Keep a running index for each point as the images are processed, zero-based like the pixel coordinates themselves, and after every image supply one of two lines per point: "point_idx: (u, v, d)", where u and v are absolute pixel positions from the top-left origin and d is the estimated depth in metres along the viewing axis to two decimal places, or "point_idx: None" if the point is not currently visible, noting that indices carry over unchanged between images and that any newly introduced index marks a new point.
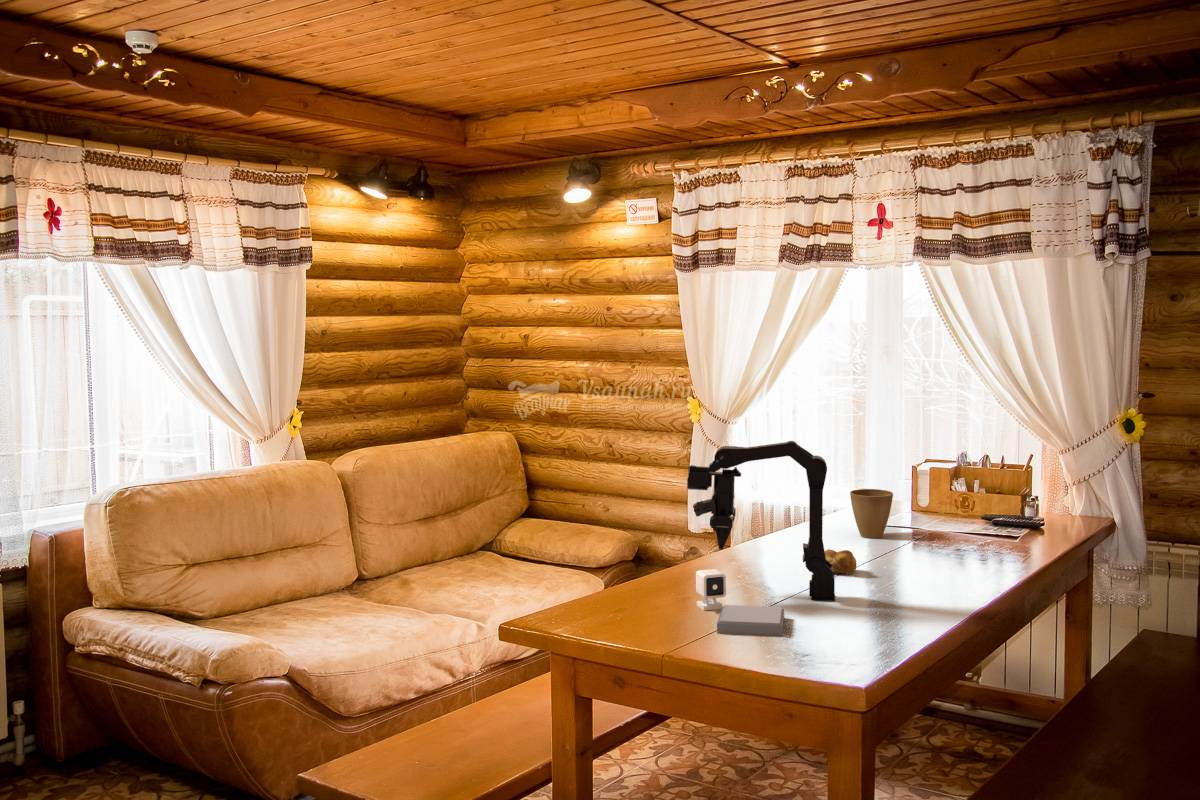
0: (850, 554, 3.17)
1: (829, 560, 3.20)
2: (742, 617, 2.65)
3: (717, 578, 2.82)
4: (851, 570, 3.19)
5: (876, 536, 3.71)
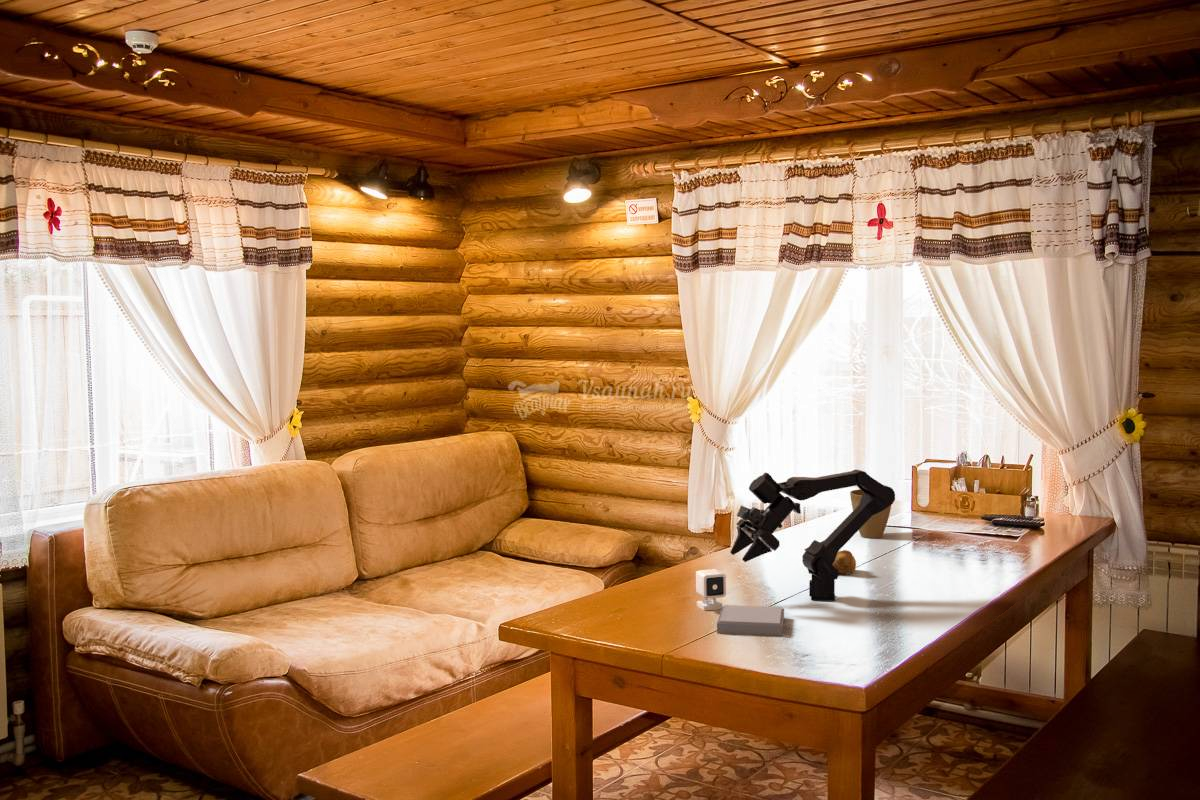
0: (849, 554, 3.17)
1: None
2: (742, 617, 2.65)
3: (717, 578, 2.82)
4: (850, 570, 3.19)
5: (876, 536, 3.71)
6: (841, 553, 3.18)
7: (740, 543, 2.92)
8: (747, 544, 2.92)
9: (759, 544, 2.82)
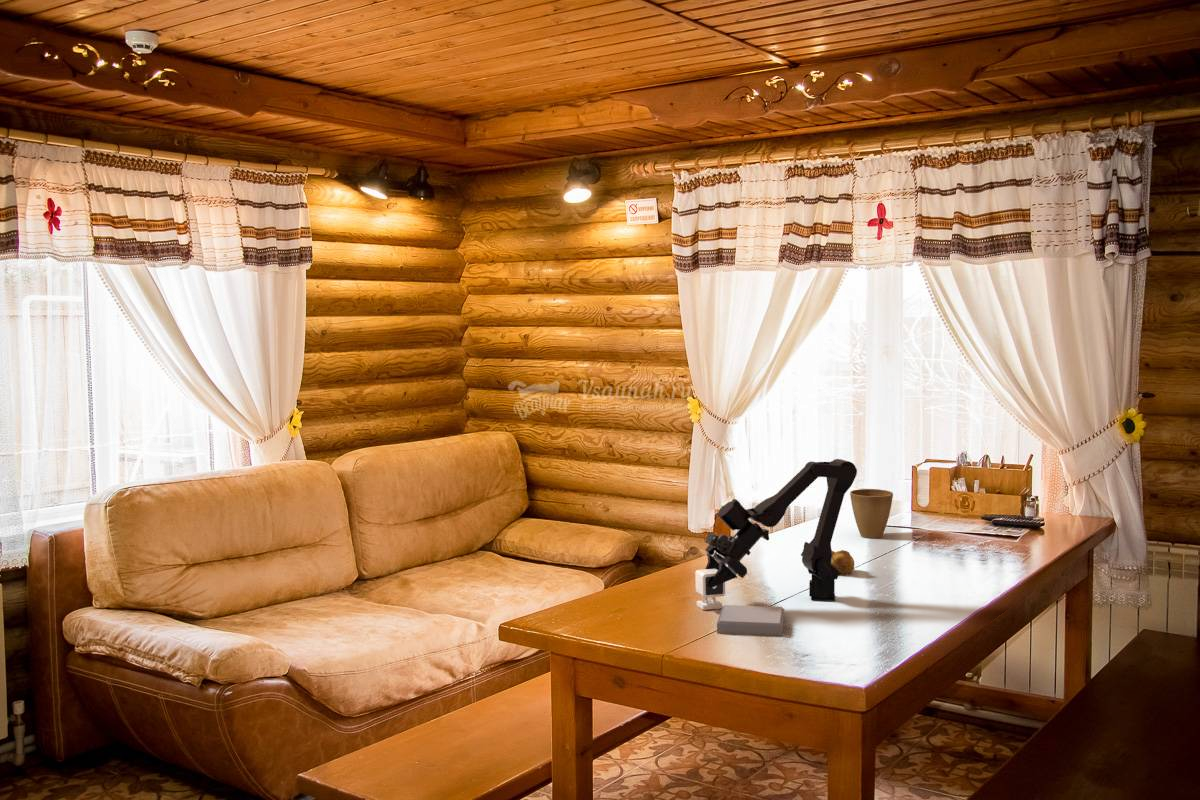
0: (847, 554, 3.17)
1: None
2: (742, 617, 2.65)
3: None
4: (848, 570, 3.19)
5: (876, 536, 3.71)
6: (839, 553, 3.18)
7: None
8: None
9: (725, 570, 2.81)
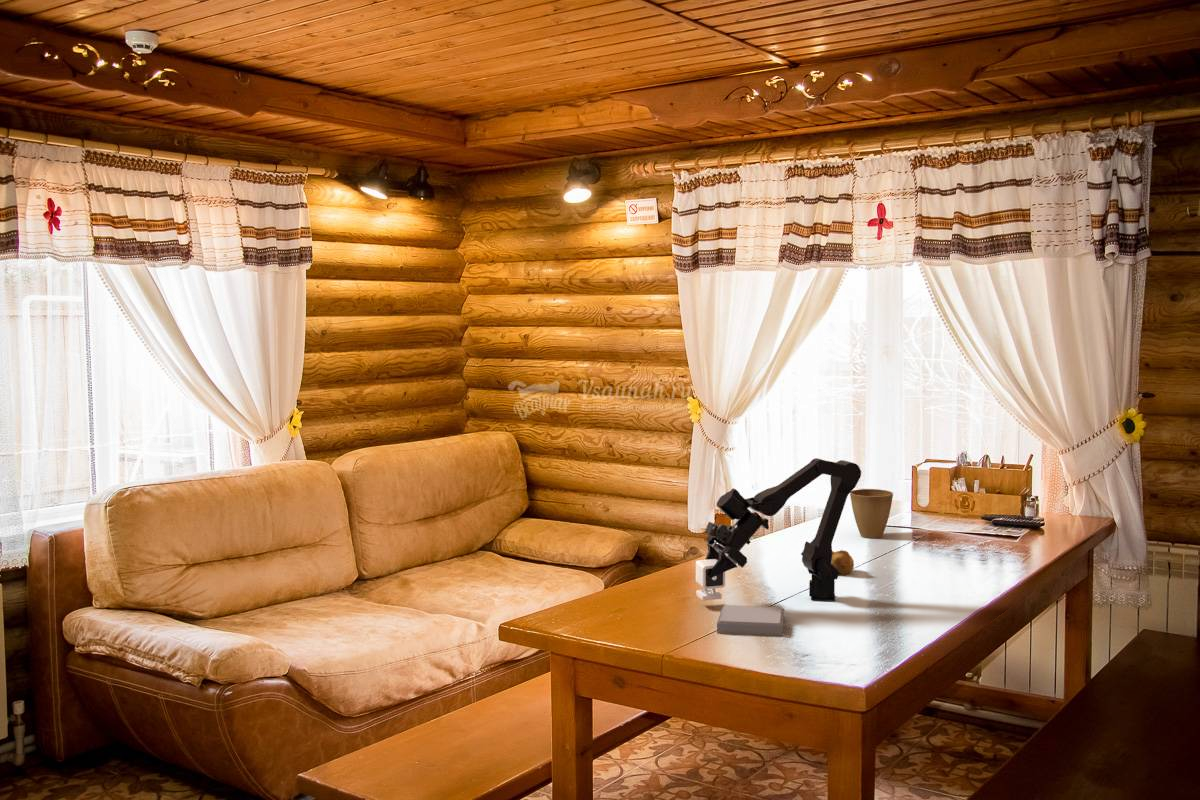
0: (846, 554, 3.17)
1: None
2: (742, 617, 2.65)
3: None
4: (848, 570, 3.19)
5: (876, 536, 3.71)
6: (838, 553, 3.18)
7: None
8: None
9: (725, 560, 2.81)
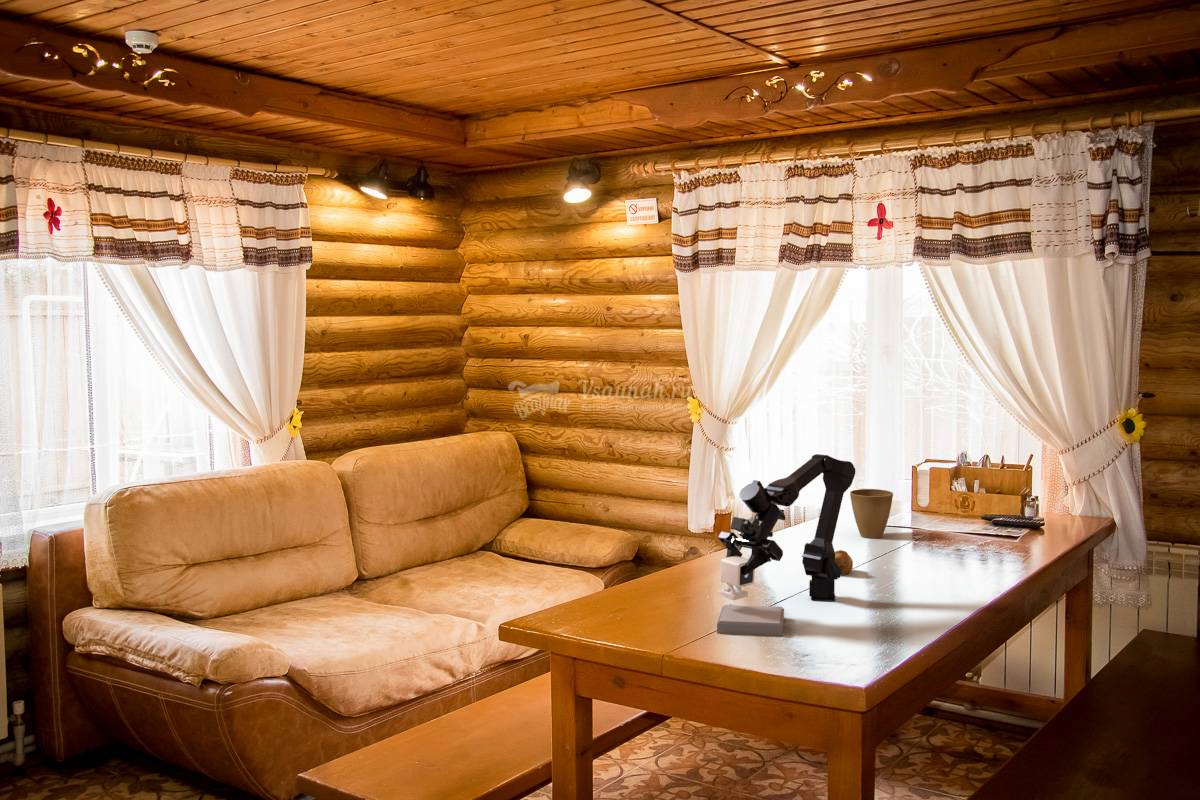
0: (845, 554, 3.17)
1: None
2: (742, 617, 2.65)
3: None
4: (846, 570, 3.19)
5: (876, 536, 3.71)
6: (837, 553, 3.18)
7: None
8: None
9: (757, 555, 2.69)
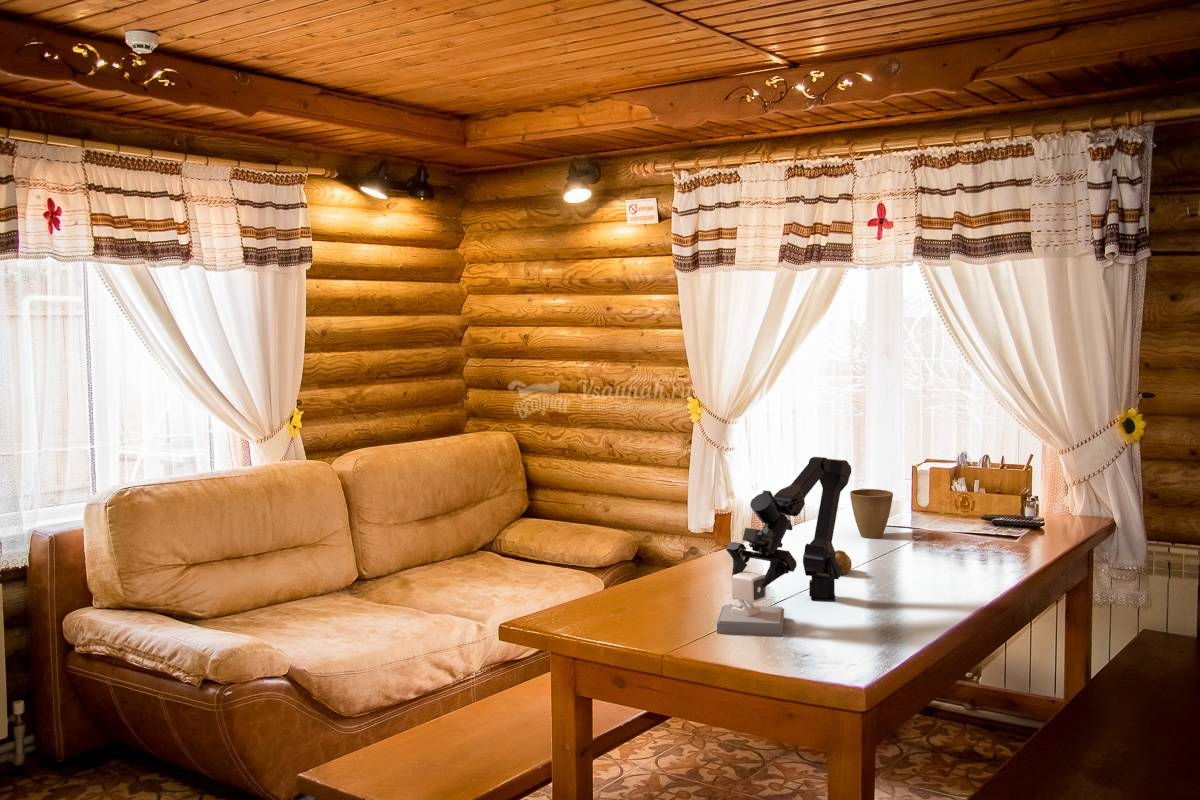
0: (843, 554, 3.17)
1: None
2: (742, 617, 2.65)
3: (760, 580, 2.67)
4: (845, 570, 3.19)
5: (876, 536, 3.71)
6: None
7: (739, 568, 2.72)
8: (743, 568, 2.74)
9: (776, 567, 2.66)
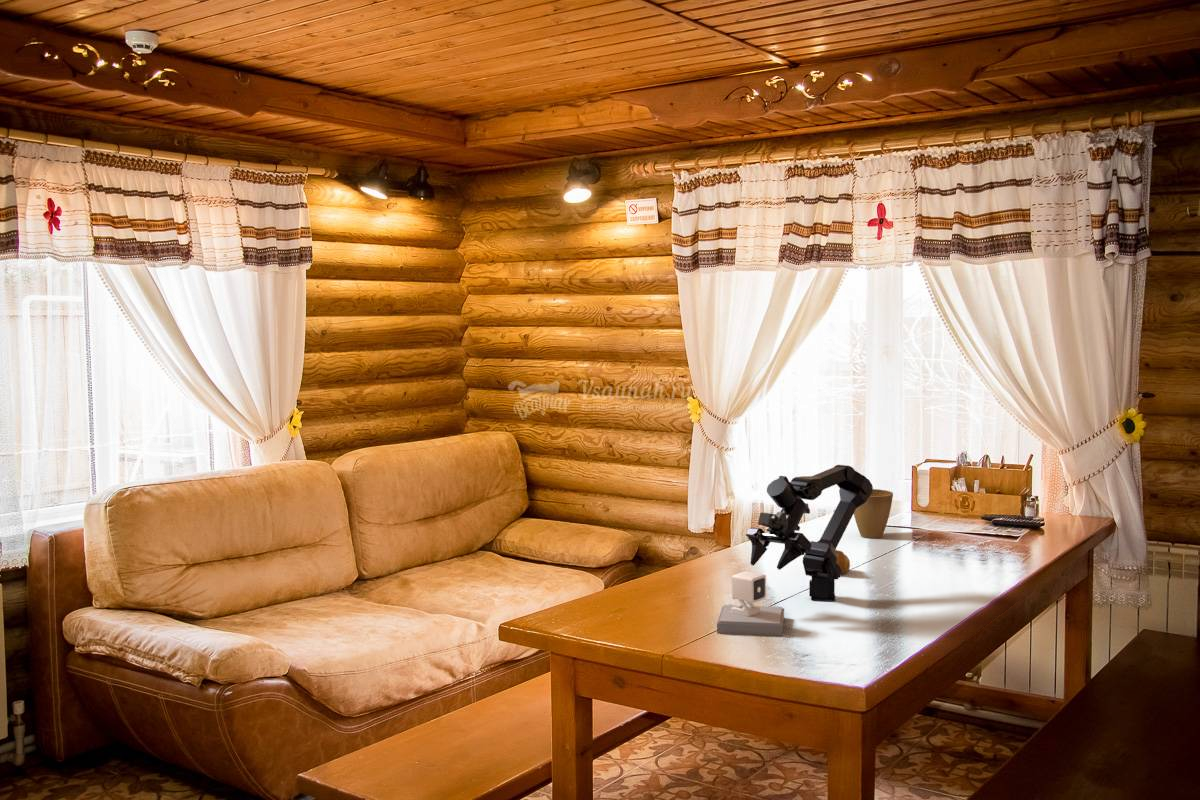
0: (841, 554, 3.17)
1: None
2: (742, 617, 2.65)
3: (760, 580, 2.67)
4: (843, 570, 3.19)
5: (876, 536, 3.71)
6: None
7: (757, 552, 2.80)
8: (762, 552, 2.82)
9: (791, 549, 2.73)
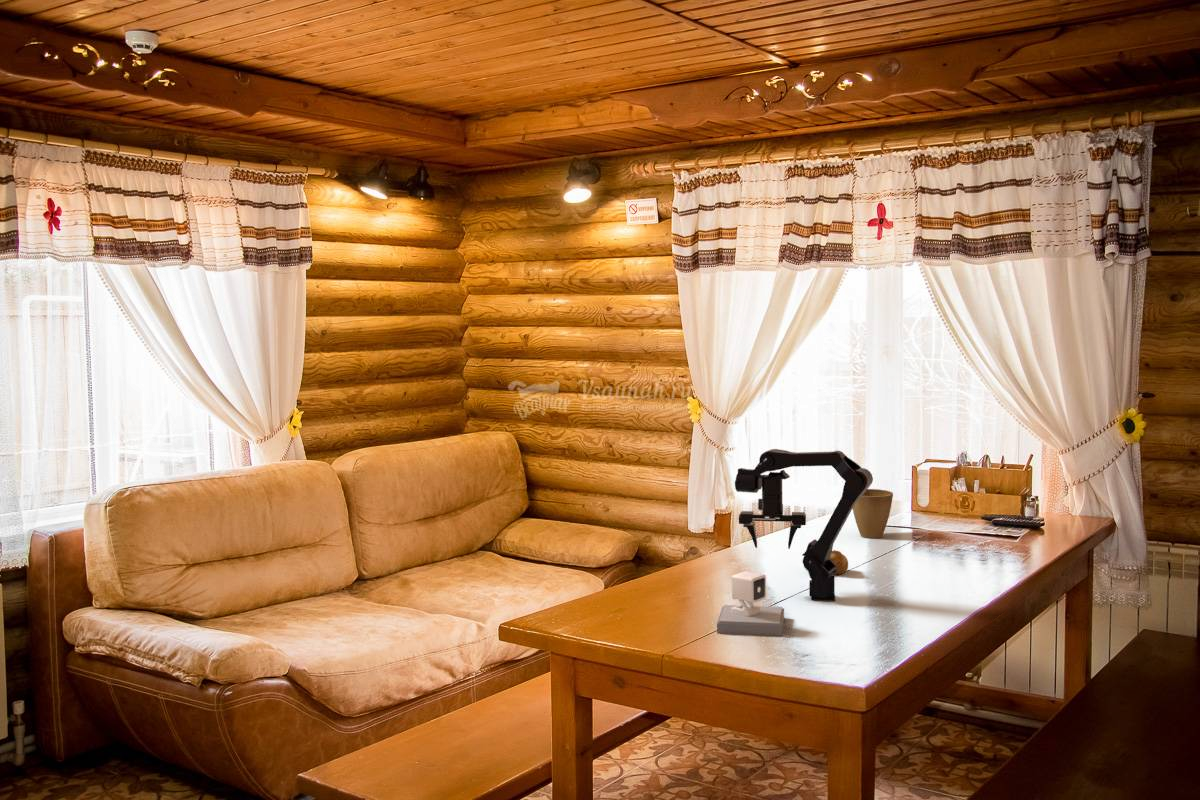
0: (839, 554, 3.17)
1: None
2: (742, 617, 2.65)
3: (760, 580, 2.67)
4: (841, 570, 3.19)
5: (876, 536, 3.71)
6: (831, 553, 3.18)
7: None
8: None
9: None
